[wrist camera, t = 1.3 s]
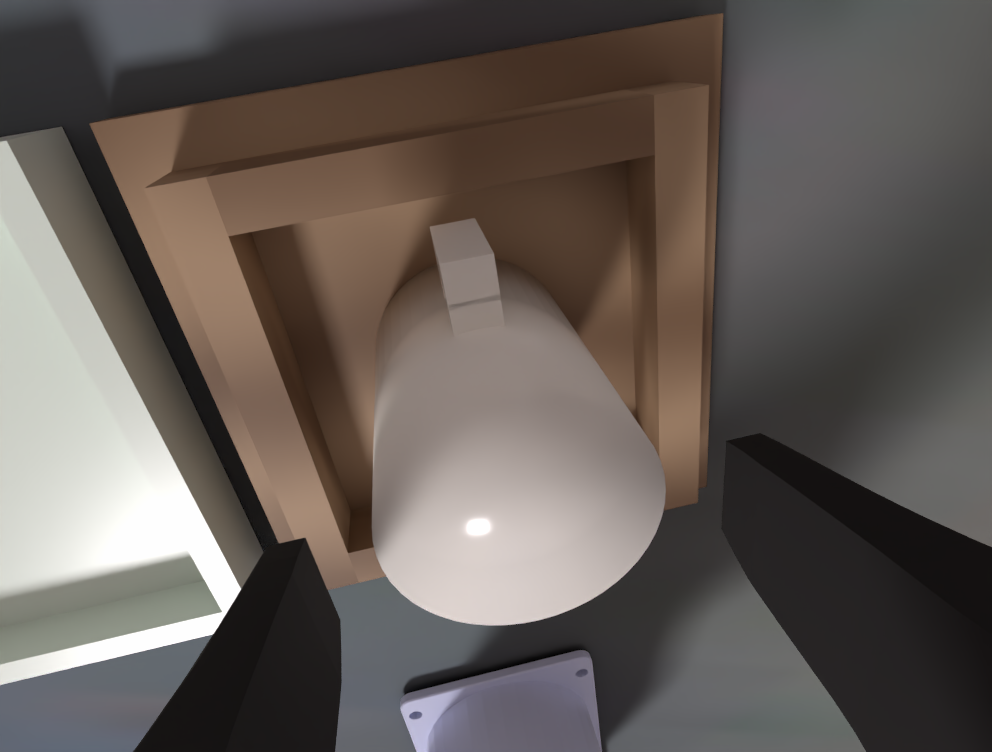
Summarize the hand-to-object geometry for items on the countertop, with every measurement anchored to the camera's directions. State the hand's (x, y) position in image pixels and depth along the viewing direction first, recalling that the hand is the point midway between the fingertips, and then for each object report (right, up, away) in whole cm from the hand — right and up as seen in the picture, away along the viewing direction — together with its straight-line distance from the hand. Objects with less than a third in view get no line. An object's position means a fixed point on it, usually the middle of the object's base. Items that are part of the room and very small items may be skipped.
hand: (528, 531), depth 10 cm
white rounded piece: (-1, +3, +6) cm, 7 cm away
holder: (-1, +4, +7) cm, 8 cm away
